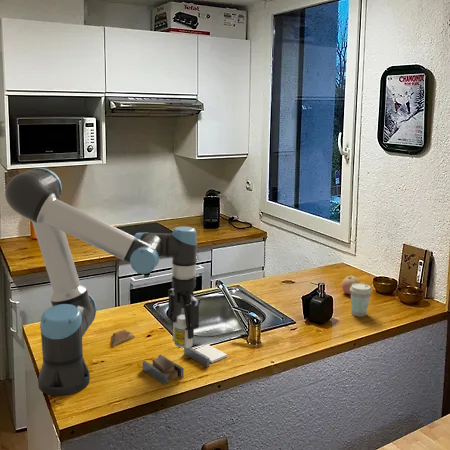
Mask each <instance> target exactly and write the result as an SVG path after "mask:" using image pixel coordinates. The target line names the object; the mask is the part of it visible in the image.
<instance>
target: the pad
mask: <svg viewBox="0 0 450 450" xmlns="http://www.w3.org/2000/svg"><path fill="white" fill-rule="evenodd" d="M194 350H196V351H198V352H200V353H202V354H204V355H205V356H207V357H209V358H210V359H209V363H211V364H213V363H215V362H219V361H221V360H222V359H224V358H226V357H227V358H228V354H227V353H225V352H224V351H222V350H219V349H218V348H216V347H214V346H211V345H209V344H205V345H203V346H201V347H198V348H196V349H194Z"/></svg>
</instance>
